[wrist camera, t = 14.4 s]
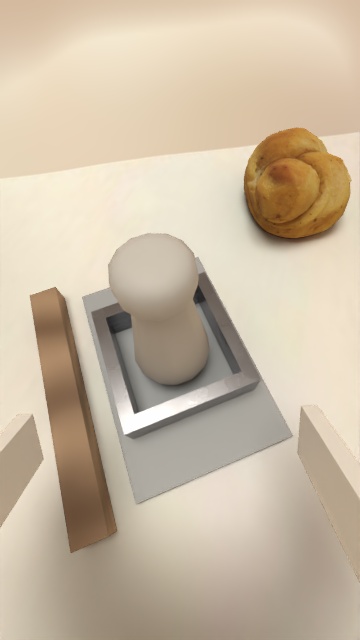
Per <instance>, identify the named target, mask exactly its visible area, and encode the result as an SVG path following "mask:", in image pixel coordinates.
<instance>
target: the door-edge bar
mask: <svg viewBox="0 0 360 640" xmlns="http://www.w3.org/2000/svg"><path fill="white" fill-rule="evenodd" d="M30 300H31V306H32V312H33V319H34V325H35V331H36V338H37V344H38V350H39V357H40V363H41V369H42V375H43V382H44V388H45V394H46V401H47V407H48V413H49V420H50V426H51V432H52V438H53V445H54V451H55V457H56V464H57V470H58V476H59V483H60V489H61V495H62V501H63V508H64V514H65V520H66V527H67V533H68V539H69V546H70V552H71V553H72V552H74V551H77V550H79V549H81V548H83V547H86V546H88V545H90V544H92V543H95V542H97V541H99V540H101V539H104V538H106V537H108V536H110V535H111V534H113V533H114V532H115V531H117V529H116V524H115V520H114V516H113V511H112V507H111V502H110V498H109V493H108V489H107V485H106V480H105V476H104V471H103V467H102V462H101V458H100V454H99V449H98V445H97V440H96V436H95V431H94V427H93V423H92V418H91V414H90V409H89V405H88V400H87V396H86V392H85V387H84V383H83V378H82V374H81V369H80V365H79V360H78V356H77V352H76V347H75V343H74V338H73V334H72V329H71V325H70V321H69V316H68V312H67V307H66V303H65V298H64V297H63V296H62V295H61V293H60V292H59V291H58V290H57V288H56V287H54V288H51V289H48V290H45V291H42V292H39V293H36V294H33V295H30Z"/></svg>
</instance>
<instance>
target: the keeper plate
mask: <svg viewBox="0 0 360 640" xmlns="http://www.w3.org/2000/svg"><path fill="white" fill-rule="evenodd" d="M195 260H196V265H197V271H198V276H199V277H198V285H197V288H196V291H195V294H194V297H193V301H194V304H195V306H196V308H197V311H198V313H199V316H200V318H201V320H202V323H203V325H204V327H205V330H206V332H207V336H208V342H209V348H210V350H209V354H208V358H207V361H206V365H205V367H204V368H203V369H202V370H201V371H200V372H199V373H198V374H197V375H196V376H195V377H194V378H193V379H192V380H189V381H187V382H184V383H181V384H179V385H166V384H159V383H157V382H155V381H154V380H152V379H150V378H149V377H147V376H145V375H144V374H143V372H142V371H141V369H140V368H139V366H138V364H137V363H136V361H135V351H134V339H133V330H132V321H131V314H129V313H127V312H126V311H124V310H123V309H122V307H121V306H120V304H119V302H118V301H117V299H116V298H115V296H114V294H113V293H112V291H111V289H110V288H107V289H104V290H101V291H98V292H95V293H92V294H89V295H86V296H83V297H82V299H83V302H84V306H85V310H86V314H87V318H88V322H89V325H90V329H91V333H92V337H93V341H94V345H95V348H96V352H97V356H98V360H99V364H100V368H101V371H102V375H103V379H104V383H105V387H106V391H107V394H108V398H109V402H110V406H111V410H112V414H113V417H114V421H115V425H116V429H117V433H118V437H119V440H120V444H121V448H122V452H123V456H124V460H125V463H126V467H127V471H128V475H129V479H130V483H131V486H132V490H133V494H134V498H135V502H136V504H138V503H140V502H142V501H144V500H147V499H149V498H151V497H154V496H156V495H158V494H161V493H163V492H165V491H167V490H170V489H172V488H174V487H177V486H179V485H181V484H184V483H186V482H188V481H190V480H193V479H195V478H197V477H200V476H202V475H204V474H206V473H209V472H211V471H213V470H216V469H218V468H220V467H223V466H225V465H227V464H229V463H232V462H234V461H236V460H239V459H241V458H243V457H246V456H248V455H250V454H252V453H255V452H257V451H259V450H262V449H264V448H266V447H269V446H271V445H273V444H275V443H278V442H280V441H282V440H285V439H287V438H289V437H291V436H293V435H292V433H291V431H290V429H289V428H288V426H287V424H286V422H285V420H284V418H283V416H282V414H281V413H280V411H279V409H278V407H277V405H276V403H275V401H274V399H273V397H272V396H271V394H270V392H269V390H268V388H267V386H266V384H265V382H264V380H263V379H262V377H261V375H260V373H259V371H258V369H257V367H256V365H255V363H254V362H253V360H252V358H251V356H250V354H249V352H248V350H247V348H246V347H245V345H244V343H243V341H242V339H241V337H240V335H239V333H238V331H237V330H236V328H235V326H234V324H233V322H232V320H231V318H230V316H229V314H228V313H227V311H226V309H225V307H224V305H223V303H222V301H221V299H220V297H219V296H218V294H217V292H216V290H215V288H214V286H213V284H212V282H211V280H210V279H209V277H208V275H207V273H206V271H205V269H204V267H203V265H202V264H201V262H200V260H199V258H198V257H197V258H195Z"/></svg>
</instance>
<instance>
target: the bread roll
mask: <svg viewBox="0 0 360 640" xmlns="http://www.w3.org/2000/svg"><path fill="white" fill-rule="evenodd" d="M351 181H352V180H351V178H350V175H349V173H348V170H347V168H346V167H345V165H344V163H343V160H342V159H341V158H339V157H336V156H333V155H331V154H329V153H328V152H327V149H326V147H325V146H324V144H323V142H322V141H321V140H320V139H318V137H317V136H315V135H313V134H312V133H311V132H309V131H308V130H306V129H304V128H292V129H288V130H284V131H279V132H278V133H275V134H272V135H270V136H269V137H267V138H266V139H265V140H264V141H262V142H261V143H260V144H259V145H258V146H257V147H256V149H255V150H254V152H253V154H252V155H251V157H250V158H249V161H248V165H247V167H246V170H245V176H244V191H245V195H246V200H247V204H248V206H249V209H250V211H251V213H252V215H253V217H254V219H255V220H256V222H257V223H258V224H259V225H260V226H261V227H262V228H263V229H264V230H265V231H266V232H268V233H272V234H274V235H276V236H279V237H283V238H300V237H304V236H309V235H313V234H316V233H319V232H323V231H325V230H327V229H328V228H330V227H331V226H332V225H334V224H335V223H336V222H337V221H338V220H339V219H340V217H341V216H342V215H343V213H344V211H345V208H346V206H347V203H348V200H349V197H350V182H351Z"/></svg>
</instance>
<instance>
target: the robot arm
mask: <svg viewBox="0 0 360 640" xmlns="http://www.w3.org/2000/svg"><path fill="white" fill-rule="evenodd" d="M298 455H299V457H300V459H301V461H302V463H303V465H304V467H305V469H306V472H307V474H308V476H309V478H310V480H311V482H312V484H313V486H314V488H315V490H316V492H317V495H318V497H319V499H320V501H321V503H322V505H323V507H324V509H325V511H326V513H327V515H328V517H329V520H330V522H331V524H332V526H333V528H334V530H335V532H336V534H337V536H338V538H339V540H340V543H341V545H342V547H343V549H344V551H345V553H346V555H347V557H348V559H349V561H350V563H351V566H352V568H353V570H354V572H355V574H356V576H357V578H358V580H359V582H360V463H359V462H358V461H357V459H356V458H355V456H354V455H353V454H352V452H351V451H350V449H349V448H348V447H347V445H346V444H345V442H344V441H343V440H342V438H341V437H340V436H339V434H338V433H337V431H336V430H335V429H334V427H333V426H332V424H331V423H330V422H329V420H328V419H327V418H326V416H325V415H324V413H323V412H322V411H321V409H320V408H319V406H318V405H302V406H301V413H300V427H299V440H298ZM43 459H44V458H43V454H42V450H41V446H40V442H39V438H38V434H37V430H36V425H35V421H34V417H33V414H20V415H17V416H16V417H15V418H14V419H13V420H12V421H11V422H10V424H9V425H8V426H7V427H6V428H5V429H4V430H3V431H2V432H1V433H0V527H1V526H2V524H3V522H4V521H5V519H6V518H7V516H8V515H9V513H10V511H11V510H12V508H13V507H14V505H15V504H16V502H17V500H18V499H19V497H20V496H21V494H22V492H23V491H24V489H25V488H26V486H27V485H28V483H29V481H30V480H31V478H32V477H33V475H34V474H35V472H36V470H37V469H38V467H39V466H40V464H41V462H42V461H43Z"/></svg>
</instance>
